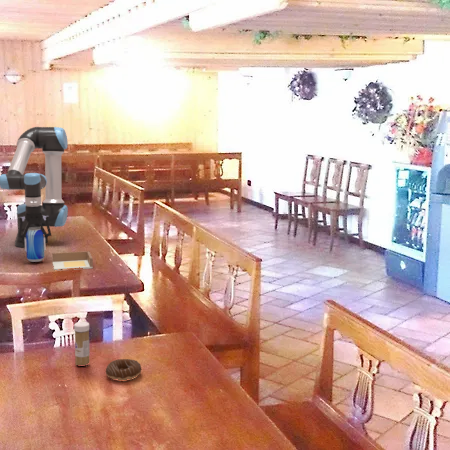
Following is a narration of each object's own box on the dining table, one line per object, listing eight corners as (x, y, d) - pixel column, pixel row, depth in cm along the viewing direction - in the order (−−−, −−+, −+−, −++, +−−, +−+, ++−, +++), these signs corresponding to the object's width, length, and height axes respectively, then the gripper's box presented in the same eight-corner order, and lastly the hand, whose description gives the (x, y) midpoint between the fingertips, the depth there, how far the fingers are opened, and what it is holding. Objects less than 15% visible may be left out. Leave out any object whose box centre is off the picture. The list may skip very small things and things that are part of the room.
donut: (144, 369, 199) (144, 357, 198) (137, 384, 188) (137, 371, 187) (110, 368, 199) (110, 355, 198) (101, 382, 189) (101, 370, 188)
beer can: (39, 262, 315) (38, 230, 312) (23, 261, 317) (22, 229, 313) (47, 258, 323) (46, 227, 320) (32, 257, 325) (30, 226, 321)
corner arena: (52, 262, 320) (52, 253, 319) (89, 260, 326) (89, 251, 325) (54, 270, 306) (53, 260, 305) (92, 268, 312) (92, 258, 311)
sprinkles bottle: (72, 364, 200) (71, 323, 198) (84, 360, 204) (83, 320, 201) (81, 369, 197) (80, 327, 195) (93, 364, 201) (92, 323, 198)
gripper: (10, 207, 307) (12, 253, 312) (56, 205, 314) (57, 250, 319) (10, 204, 314) (12, 249, 319) (55, 203, 321) (56, 247, 326)
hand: (35, 250), depth 319 cm, fingers closed on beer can, 8 cm apart
